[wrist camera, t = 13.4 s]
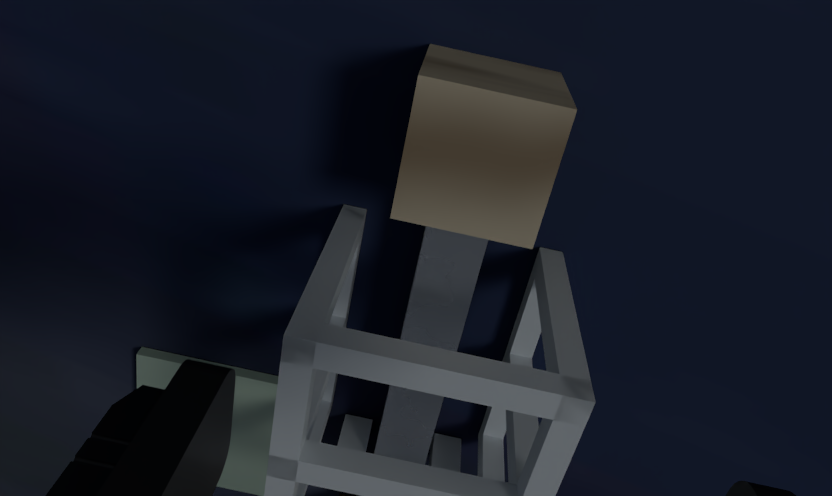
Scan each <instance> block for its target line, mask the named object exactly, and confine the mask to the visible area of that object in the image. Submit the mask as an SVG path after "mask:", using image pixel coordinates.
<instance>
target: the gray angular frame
mask: <svg viewBox="0 0 832 496" xmlns="http://www.w3.org/2000/svg"><path fill="white" fill-rule="evenodd" d="M366 212H367V209H363V208H358V207H354V206H349V205H345V204H344V205H343V207H342V209H341V212H340V214H339V216H338V218H337V220H336V222H335V225H334V227H333V229H332V231H331V233H330V235H329V238H328V240H327V242H326V244H325V246H324V248H323V251H322V253H321V255H320V257H319V259H318V261H317V264H316V266H315V268H314V270H313V272H312V274H311V277H310V279H309V281H308V283H307V285H306V287H305V290H304V292H303V294H302V296H301V298H300V300H299V303H298V305H297V307H296V309H295V311H294V313H293V316H292V318H291V320H290V322H289V324H288V326H287V329H286V331H285V333H284V336H283V344H282V352H281V360H280V368H279V377H278V385H277V393H276V401H275V409H274V418H273V426H272V434H271V442H270V451H269V459H268V467H267V475H266V483H265V492H264V496H305V493H306V490H307V487H308V485H313V486H318V487H322V488H327V489H332V490H336V491H341V492H346V493H350V494H355V495H360V496H555V495H556V493H557V491H558V488H559V486H560V484H561V481H562V479H563V477H564V474H565V472H566V470H567V467H568V465H569V463H570V461H571V458H572V456H573V454H574V451H575V449H576V447H577V444H578V442H579V440H580V437H581V435H582V433H583V430H584V428H585V426H586V423H587V421H588V419H589V416H590V414H591V412H592V409H593V407H594V405H595V398H594V393H593V389H592V384H591V380H590V375H589V370H588V366H587V361H586V357H585V352H584V348H583V343H582V338H581V334H580V329H579V325H578V320H577V316H576V311H575V306H574V302H573V297H572V293H571V288H570V284H569V279H568V274H567V270H566V265H565V261H564V256H563V252H560V251H555V250H551V249H546V248H542V247H540V248H539V251H538V254H537V257H536V260H535V263H534V266H533V269H532V272H531V275H530V278H529V281H528V284H527V287H526V290H525V293H524V297H523V300H522V303H521V306H520V309H519V312H518V315H517V318H516V321H515V324H514V327H513V330H512V333H511V336H510V339H509V342H508V345H507V349H506V352H505V355H504V358H503V361H502V362H501V361H497V360H492V359H488V358H483V357H478V356H474V355H469V354H464V353H460V352H455V351H451V350H446V349H441V348H437V347H432V346H427V345H423V344H418V343H414V342H409V341H404V340H400V339H395V338H390V337H386V336H381V335H377V334H372V333H367V332H363V331H358V330H353V329H349V328H346V325H347V319H348V313H349V308H350V302H351V296H352V291H353V285H354V280H355V274H356V268H357V263H358V257H359V251H360V246H361V240H362V234H363V229H364V223H365V217H366ZM541 331H542V339H543V347H544V354H545V362H546V370H547V371H543V370H538V369H534V368H533V366H532V356H533V353H534V350H535V347H536V345H537V342H538V339H539V336H540V333H541ZM338 374H342V375H347V376H351V377H356V378H361V379H365V380H370V381H374V382H379V383H384V384H388V385H393V386H398V387H402V388H407V389H412V390H416V391H421V392H426V393H430V394H435V395H439V396H444V397H449V398H453V399H458V400H463V401H467V402H472V403H477V404H481V405H486V406H488V407H487V410H486V413H485V416H484V419H483V422H482V425H481V428H480V431H479V434H478V476H474V475H470V474H465V473H460V462H461V439H460V438H455V437H451V436H446V435H441V434H437V433H434V437H433V440H432V444H431V448H430V458H429V466H428V465H423V464H418V463H414V462H409V461H404V460H400V459H395V458H390V457H386V456H381V455H376V454H372V453H367V452H366V449H367V444H368V440H369V435H370V430H371V426H372V421H373V420H371V419H367V418H362V417H357V416H353V415H348V414H346V415H345V419H344V422H343V426H342V430H341V433H340V437H339V441H338V445H337V446H334V445H330V444H325V443H321V440H322V437H323V434H324V430H325V427H326V424H327V420H328V417H329V414H330V410H331V407H332V404H333V398H334V393H335V387H336V381H337V376H338ZM538 417H542V421H541V423H540V426H538ZM506 430H507V454H508V479H509V483H507V482H505V478H504V448H503V438H504V435H505V432H506Z"/></svg>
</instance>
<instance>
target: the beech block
mask: <svg viewBox="0 0 832 496" xmlns="http://www.w3.org/2000/svg"><path fill="white" fill-rule="evenodd" d="M576 112H577V108H576V106H575V104H574V101H573V99H572V97H571V95H570V92H569V90H568V88H567V85H566V83H565V81H564V79H563V76H562V74H561V73H560V72H556V71H551V70H546V69H542V68H537V67H533V66H528V65H524V64H519V63H515V62H510V61H506V60H501V59H497V58H492V57H488V56H483V55H478V54H474V53H469V52H465V51H460V50H456V49H451V48H447V47H442V46H438V45H433V44H430V45H429V48H428V50H427V53H426V56H425V58H424V61H423V64H422V66H421V69H420V71H419V74H418V79H417V84H416V89H415V94H414V99H413V104H412V109H411V114H410V119H409V124H408V130H407V135H406V140H405V145H404V150H403V155H402V160H401V165H400V170H399V175H398V180H397V186H396V191H395V196H394V201H393V206H392V211H391V216H390V218H391V219H396V220H400V221H405V222H409V223H414V224H419V225H423V226H428V227H432V228H437V229H442V230H446V231H451V232H455V233H460V234H465V235H469V236H474V237H478V238H483V239H488V240H492V241H497V242H501V243H506V244H511V245H515V246H520V247H524V248H529V249H533V246H534V243H535V240H536V237H537V233H538V230H539V227H540V224H541V221H542V218H543V215H544V212H545V208H546V205H547V202H548V199H549V196H550V193H551V190H552V187H553V183H554V180H555V177H556V174H557V171H558V168H559V165H560V162H561V158H562V155H563V152H564V149H565V146H566V143H567V140H568V137H569V133H570V130H571V127H572V124H573V121H574V118H575V115H576Z"/></svg>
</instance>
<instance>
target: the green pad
mask: <svg viewBox="0 0 832 496" xmlns="http://www.w3.org/2000/svg"><path fill="white" fill-rule="evenodd" d="M187 359H190V360H194V361H199V362H204V363H208V364H213V365H217V366H222V367H227V368H231V369H234V370H235V374H236V379H235V392H234V404H233V416H232V428H231V439H230V446H229V451H228V455H227V459H226V462H225V465H224V468H223V471H222V474H221V477H220V479H219V481H218V484H217V486H218V487H222V488H227V489H232V490H236V491H241V492H246V493H251V494H255V495H260V496H264V492H265V483H266V475H267V467H268V459H269V451H270V442H271V434H272V426H273V418H274V409H275V401H276V393H277V385H278V377H279V376H275V375H271V374H266V373H261V372H257V371H252V370H247V369H243V368H238V367H233V366H229V365H224V364H220V363H215V362H210V361H206V360H201V359H196V358H192V357H187V356H182V355H178V354H173V353H168V352H164V351H159V350H155V349H150V348H145V347H141V349H140V350H139V351H138V353H137V354H136V367H137V388H139V387H140V386H142V385H146V386H150V387H155V388H160V389H164V390H165V389H166V387H167V386H168V384H169V382H170V381H171V379H172V378H173V376H174V375H175V373H176V372H177V370H178V369H179V367H180V366H181V364H182V363H183V362H184V361H185V360H187Z"/></svg>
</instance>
